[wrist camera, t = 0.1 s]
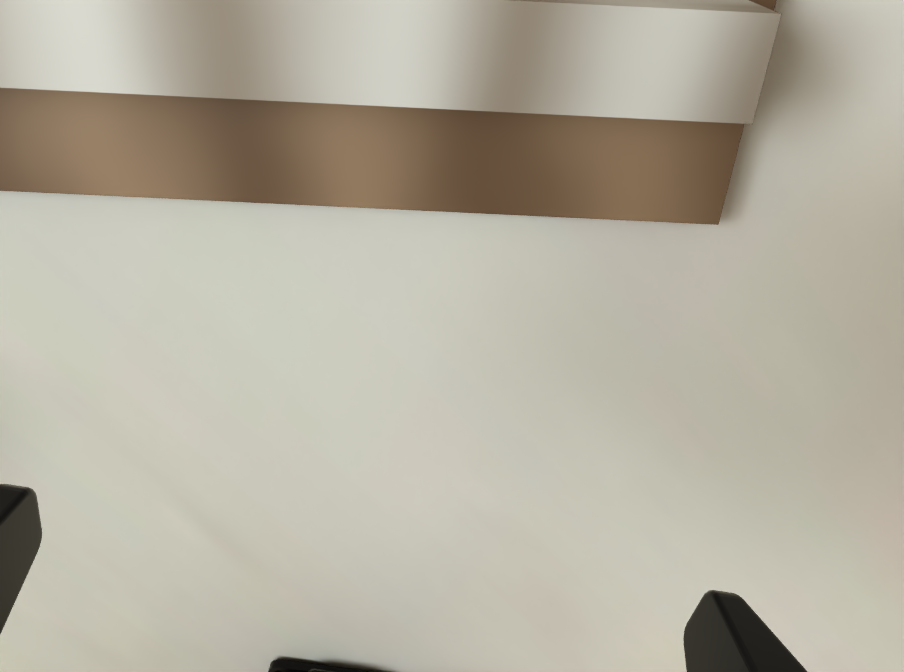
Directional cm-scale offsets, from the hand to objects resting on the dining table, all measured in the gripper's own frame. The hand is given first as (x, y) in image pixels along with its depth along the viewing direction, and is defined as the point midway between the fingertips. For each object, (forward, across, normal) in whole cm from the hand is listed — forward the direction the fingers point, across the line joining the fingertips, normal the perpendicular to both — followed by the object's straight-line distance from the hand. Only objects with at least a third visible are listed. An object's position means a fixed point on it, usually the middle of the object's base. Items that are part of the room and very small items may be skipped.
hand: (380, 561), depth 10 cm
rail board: (+15, +5, -4) cm, 16 cm away
